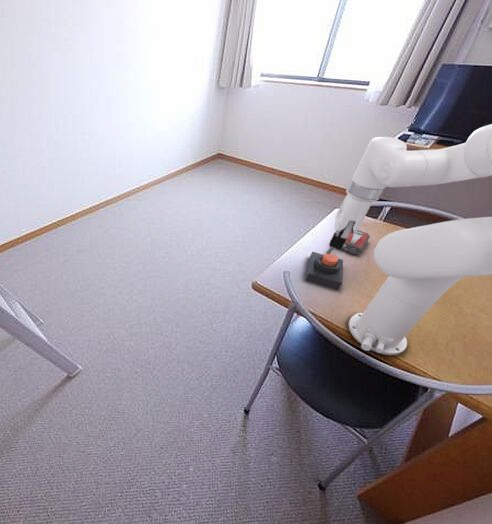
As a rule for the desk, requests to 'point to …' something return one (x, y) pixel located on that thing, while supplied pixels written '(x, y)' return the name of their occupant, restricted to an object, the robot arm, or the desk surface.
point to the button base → (324, 272)
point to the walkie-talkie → (354, 243)
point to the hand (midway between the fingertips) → (335, 246)
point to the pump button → (329, 259)
